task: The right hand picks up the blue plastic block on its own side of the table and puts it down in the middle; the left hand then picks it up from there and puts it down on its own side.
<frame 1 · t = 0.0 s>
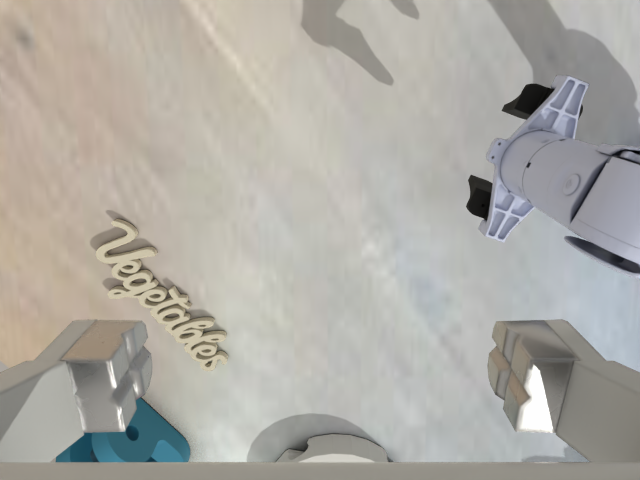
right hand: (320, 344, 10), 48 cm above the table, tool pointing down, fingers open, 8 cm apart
left hand: (494, 146, 46), fingers open, 7 cm apart
decorative sign: (162, 302, 64), on the table
teal clevis bracket: (143, 435, 74), on the table
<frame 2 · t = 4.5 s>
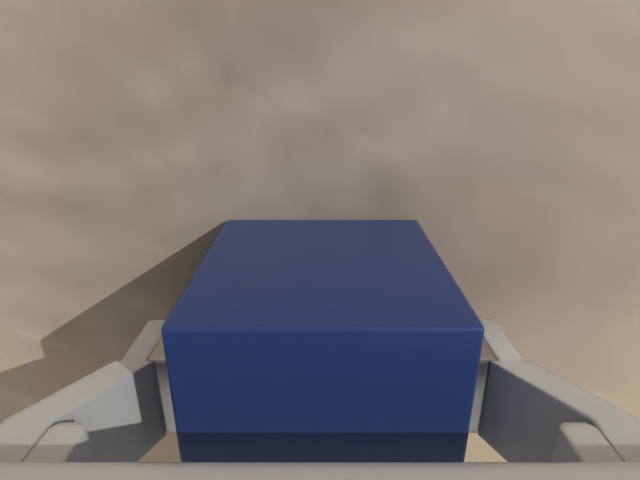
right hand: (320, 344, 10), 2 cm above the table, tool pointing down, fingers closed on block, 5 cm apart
block: (321, 306, 12), on the table, touching right hand
when the right hand's fingers open (3 cm above the table, at t = 15.2 s): block drops 1 cm, on the table.
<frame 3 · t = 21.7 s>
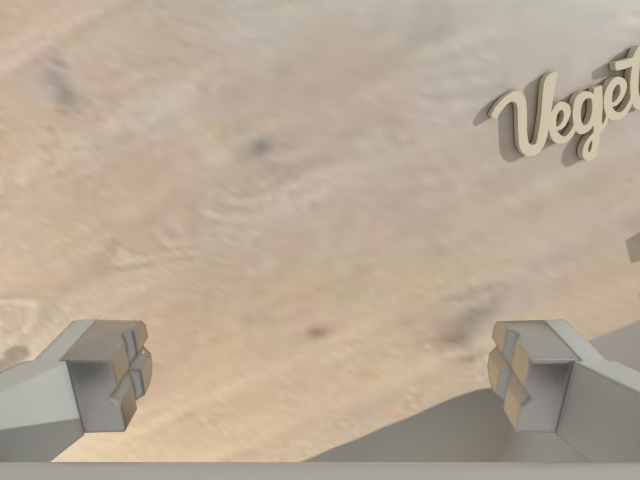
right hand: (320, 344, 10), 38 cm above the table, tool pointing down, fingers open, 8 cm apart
decorative sign: (625, 90, 44), on the table
when the left hand's fingers open (3 cm above the table, at t = 27.5 s): block drops 1 cm, on the table.
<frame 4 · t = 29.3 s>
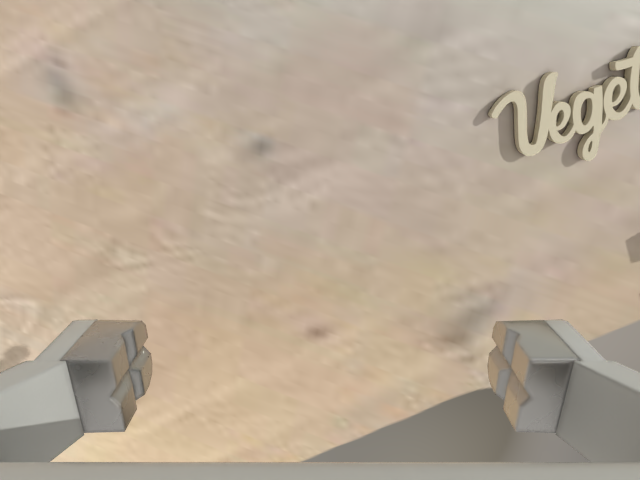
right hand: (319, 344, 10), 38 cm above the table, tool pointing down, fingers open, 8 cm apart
decorative sign: (625, 90, 44), on the table
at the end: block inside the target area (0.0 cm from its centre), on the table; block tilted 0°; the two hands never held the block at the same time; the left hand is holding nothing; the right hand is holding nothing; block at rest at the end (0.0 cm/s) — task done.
